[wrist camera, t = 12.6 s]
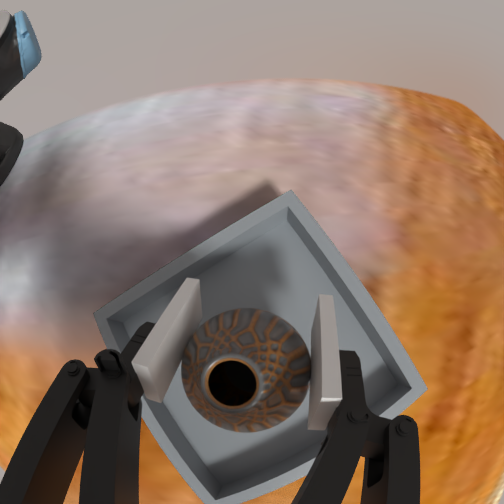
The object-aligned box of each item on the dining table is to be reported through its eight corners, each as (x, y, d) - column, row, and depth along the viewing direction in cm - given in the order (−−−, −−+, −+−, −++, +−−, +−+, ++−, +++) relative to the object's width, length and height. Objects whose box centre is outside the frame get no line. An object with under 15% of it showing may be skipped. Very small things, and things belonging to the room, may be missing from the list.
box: (115, 318, 22) (93, 313, 18) (289, 210, 23) (291, 189, 20) (220, 492, 16) (211, 511, 13) (407, 383, 18) (427, 388, 14)
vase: (187, 339, 18) (122, 332, 10) (277, 298, 19) (276, 261, 10) (228, 426, 16) (191, 481, 8) (321, 386, 16) (355, 420, 8)
